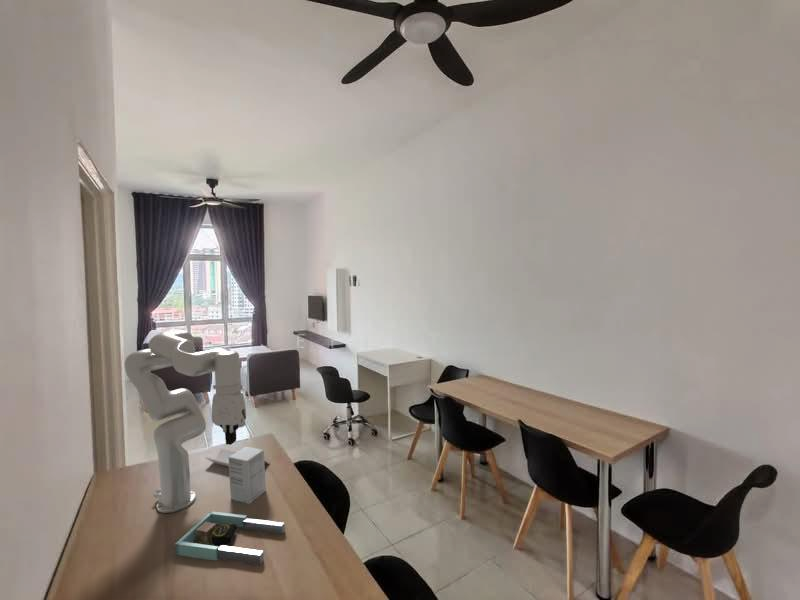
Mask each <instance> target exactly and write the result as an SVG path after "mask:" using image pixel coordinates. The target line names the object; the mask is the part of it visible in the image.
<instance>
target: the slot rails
mask: <svg viewBox="0 0 800 600" xmlns="http://www.w3.org/2000/svg"><path fill="white" fill-rule="evenodd" d="M285 527H286V526H285V522H284V521H283V522H282V521H275V520H274V521H272V520H265V519H257V518H248V517H247V518H246V519H245V520H244V521H243V527H242V530H243V531H247V532H256V533H261V534H262V533H263V534H272V535H279V536H283V534H284V533H285V531H286V530H285ZM217 555H218V559H217V560H223V561H230V562H236V563H244V564H250V565H257V566H258V565H259V566H261V564H262V563H264V561H265V559H264V557H265V556H264V550H261V549H260V550H259V549H254V548H253V549H252V548H246V547H245V548H244V547H237V546H230V545H224V546H223V545H221V546H220V547H219V548H218V549H217Z"/></svg>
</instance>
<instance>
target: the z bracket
mask: <svg viewBox="0 0 800 600" xmlns="http://www.w3.org/2000/svg"><path fill="white" fill-rule="evenodd" d="M236 452H237V451H231V450H228V449H223V448H221V449H220V451H219V452H218V454H217V456H216V457H215V459H214V458H211V457H208V456H207V457H205V459H206V460H208V461H210V462H212V463H214V464H217V465H221V466H226V467H229V460H228V457H230V456H231V455H233V454H235V453H236ZM264 463H265V464H268V465H270V464H271V463H270V462H268V461H267V460H266V459H264Z"/></svg>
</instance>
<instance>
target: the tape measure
mask: <svg viewBox="0 0 800 600" xmlns="http://www.w3.org/2000/svg"><path fill="white" fill-rule="evenodd" d="M237 529H238V527H237V526H236V525H235V524H231V525H218V526H216V529H214V531H213V532H212V534H211V541H210V542H211V545H212V546H218V547H220V546H221V545H223V546H229V545H230V544H232V542H233V537H234V536H235V534H236V530H237Z"/></svg>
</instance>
